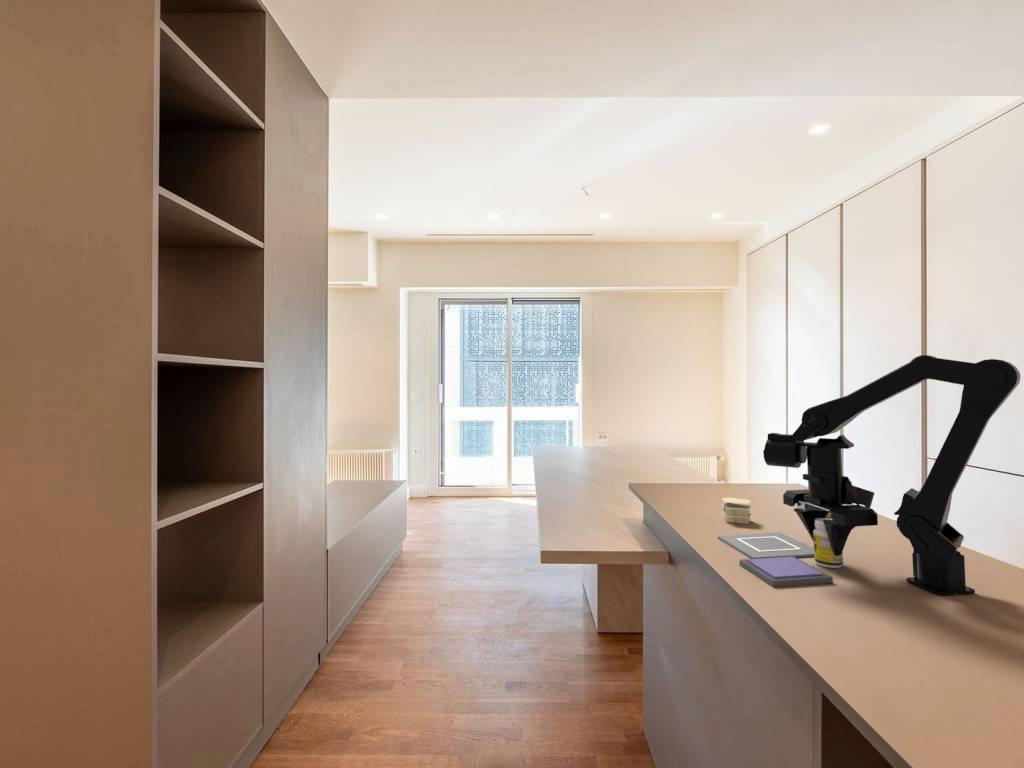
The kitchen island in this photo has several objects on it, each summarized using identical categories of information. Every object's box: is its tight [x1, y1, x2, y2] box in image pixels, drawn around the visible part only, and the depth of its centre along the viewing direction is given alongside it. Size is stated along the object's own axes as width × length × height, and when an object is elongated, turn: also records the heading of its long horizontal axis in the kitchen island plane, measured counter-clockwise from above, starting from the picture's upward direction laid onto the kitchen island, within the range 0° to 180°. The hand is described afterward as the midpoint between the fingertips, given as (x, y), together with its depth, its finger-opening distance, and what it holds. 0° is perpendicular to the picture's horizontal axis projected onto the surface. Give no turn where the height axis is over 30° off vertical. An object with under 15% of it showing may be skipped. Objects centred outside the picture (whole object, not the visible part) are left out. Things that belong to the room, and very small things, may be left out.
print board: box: [717, 531, 814, 559], centre depth 108 cm, size 15×15×1 cm
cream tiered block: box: [721, 497, 752, 525], centre depth 129 cm, size 10×9×6 cm
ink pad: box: [738, 556, 834, 588], centre depth 92 cm, size 11×11×1 cm
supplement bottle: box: [813, 518, 844, 569], centre depth 96 cm, size 5×5×8 cm
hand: (828, 551), depth 96 cm, fingers closed on supplement bottle, 5 cm apart
